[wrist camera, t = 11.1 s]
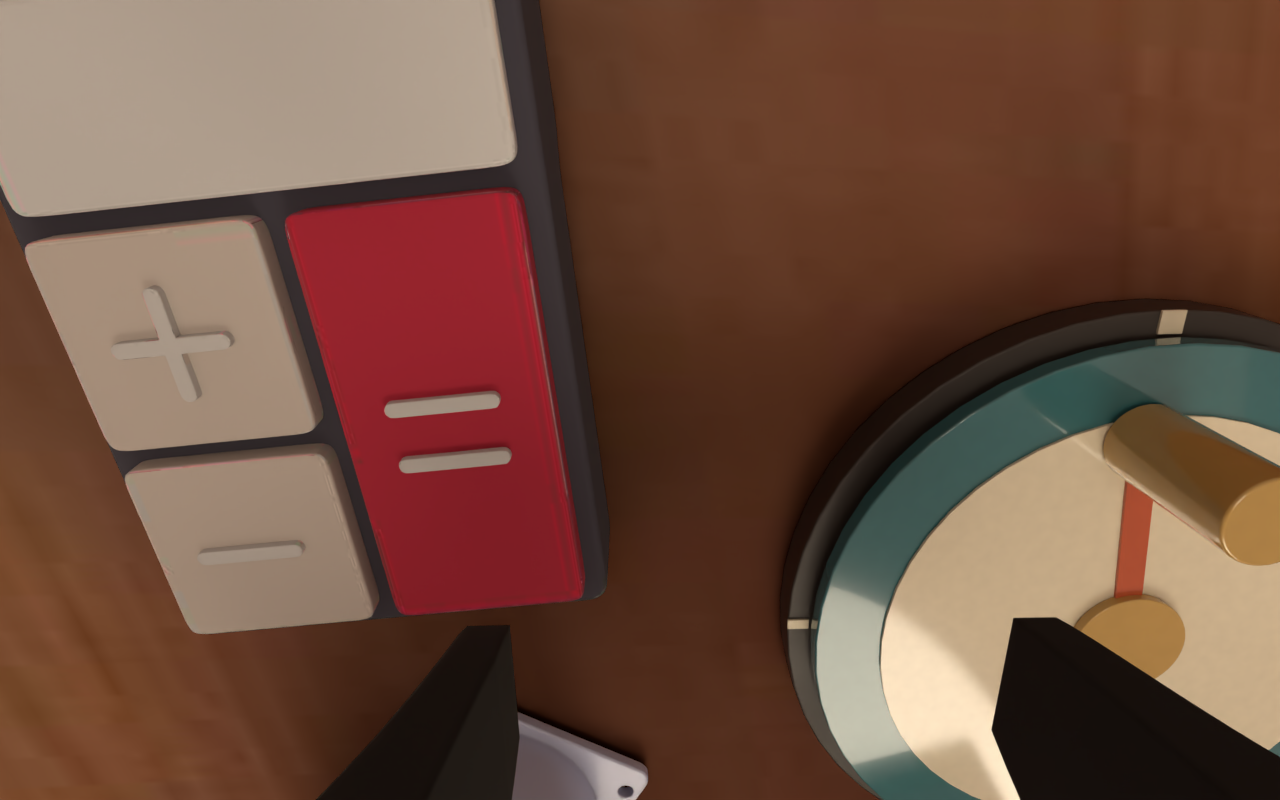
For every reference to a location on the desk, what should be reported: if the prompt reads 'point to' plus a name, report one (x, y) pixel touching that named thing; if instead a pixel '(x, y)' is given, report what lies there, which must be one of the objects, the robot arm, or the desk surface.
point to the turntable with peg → (1060, 556)
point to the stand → (935, 401)
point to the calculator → (315, 295)
